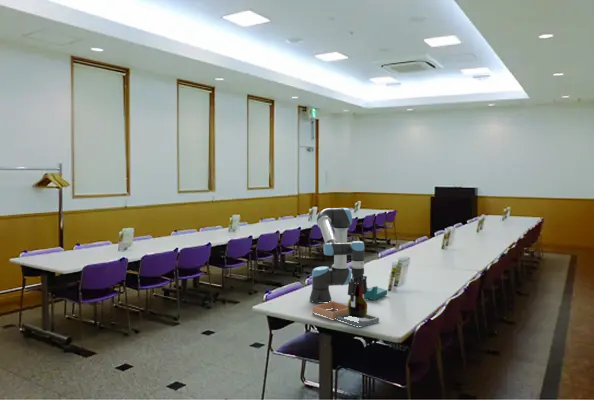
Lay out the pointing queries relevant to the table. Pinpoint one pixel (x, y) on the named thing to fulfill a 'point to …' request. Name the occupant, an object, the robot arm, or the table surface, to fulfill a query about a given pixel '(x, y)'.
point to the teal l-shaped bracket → (375, 293)
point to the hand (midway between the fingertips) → (357, 305)
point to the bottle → (358, 304)
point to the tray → (362, 321)
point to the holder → (322, 308)
